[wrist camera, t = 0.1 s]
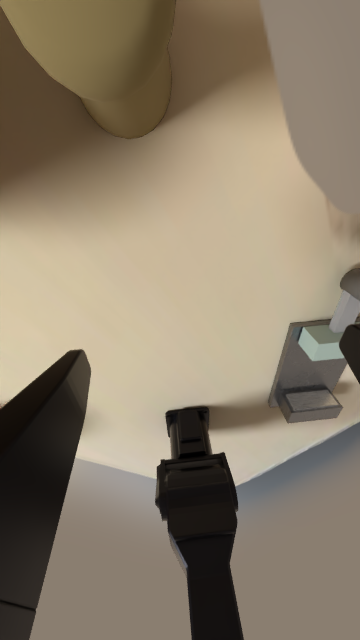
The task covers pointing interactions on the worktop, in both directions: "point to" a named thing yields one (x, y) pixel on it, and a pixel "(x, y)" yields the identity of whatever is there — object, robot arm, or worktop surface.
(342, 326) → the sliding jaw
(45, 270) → the worktop surface
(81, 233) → the worktop surface
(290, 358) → the base
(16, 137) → the worktop surface
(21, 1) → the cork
